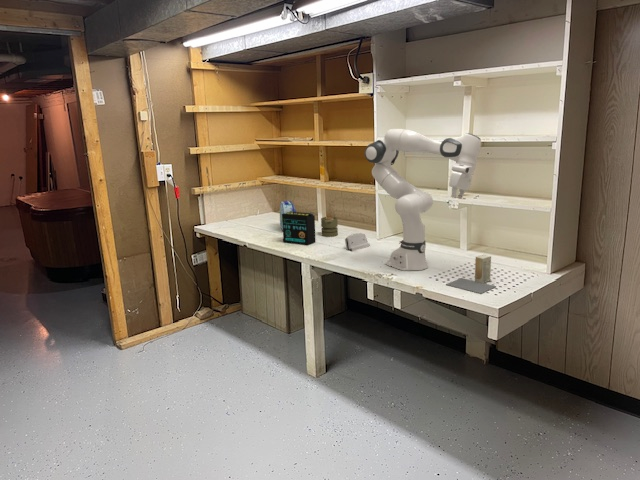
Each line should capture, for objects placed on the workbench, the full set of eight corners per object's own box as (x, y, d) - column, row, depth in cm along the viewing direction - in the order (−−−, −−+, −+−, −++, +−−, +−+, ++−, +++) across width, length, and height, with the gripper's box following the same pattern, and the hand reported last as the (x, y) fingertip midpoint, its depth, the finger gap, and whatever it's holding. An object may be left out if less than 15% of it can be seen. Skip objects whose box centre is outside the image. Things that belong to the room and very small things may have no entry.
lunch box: (297, 232, 344) (296, 203, 339) (282, 233, 342) (281, 204, 338) (293, 225, 369) (291, 198, 364) (279, 226, 367) (277, 199, 363)
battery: (315, 242, 313) (314, 212, 308) (307, 245, 305) (306, 214, 300) (291, 239, 323) (290, 210, 318) (283, 242, 315) (281, 212, 310)
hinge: (352, 251, 287) (347, 235, 288) (346, 252, 291) (342, 236, 291) (370, 246, 298) (366, 230, 298) (365, 247, 302) (361, 232, 302)
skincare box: (483, 278, 229) (484, 254, 227) (490, 280, 226) (491, 256, 223) (473, 281, 226) (475, 256, 223) (481, 283, 222) (482, 258, 220)
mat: (445, 285, 222) (445, 284, 222) (461, 278, 230) (461, 277, 230) (481, 294, 209) (481, 293, 209) (496, 287, 217) (496, 286, 217)
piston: (336, 219, 324) (320, 219, 325) (337, 236, 326) (320, 237, 328) (337, 216, 335) (321, 216, 336) (338, 233, 337) (322, 233, 339)
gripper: (464, 170, 233) (456, 197, 235) (450, 165, 216) (442, 195, 218) (477, 172, 229) (469, 200, 232) (464, 168, 212) (456, 198, 215)
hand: (456, 198), depth 225 cm, fingers open, 8 cm apart
